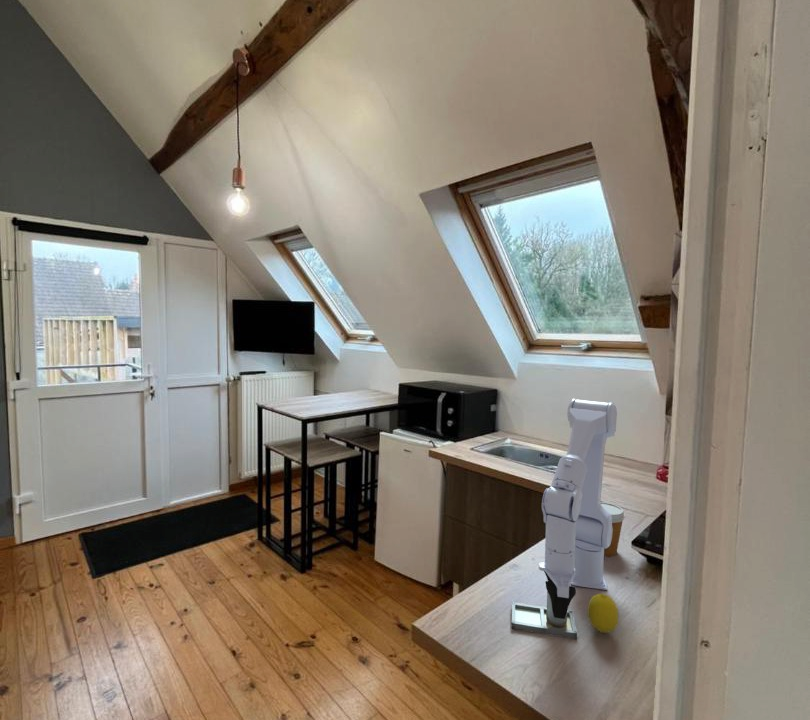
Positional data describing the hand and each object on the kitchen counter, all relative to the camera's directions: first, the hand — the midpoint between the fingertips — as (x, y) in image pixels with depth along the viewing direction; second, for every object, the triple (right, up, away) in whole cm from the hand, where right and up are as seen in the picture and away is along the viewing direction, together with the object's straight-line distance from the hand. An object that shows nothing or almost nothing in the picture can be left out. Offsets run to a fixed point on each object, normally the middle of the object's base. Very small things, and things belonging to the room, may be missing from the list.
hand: (558, 610), depth 89 cm
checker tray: (-3, -3, +1) cm, 4 cm away
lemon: (+8, -4, -2) cm, 9 cm away
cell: (0, -2, 0) cm, 2 cm away
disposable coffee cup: (+24, -1, +30) cm, 38 cm away
